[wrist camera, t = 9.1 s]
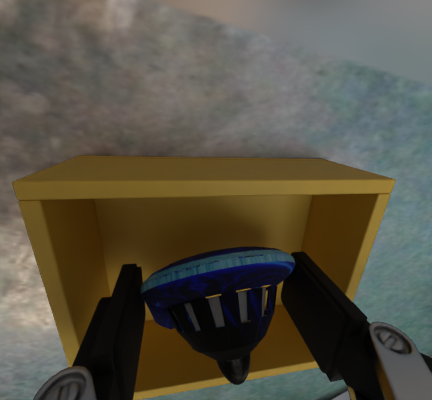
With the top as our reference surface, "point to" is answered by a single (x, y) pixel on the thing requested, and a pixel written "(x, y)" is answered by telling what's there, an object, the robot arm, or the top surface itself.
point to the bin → (193, 241)
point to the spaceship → (220, 302)
